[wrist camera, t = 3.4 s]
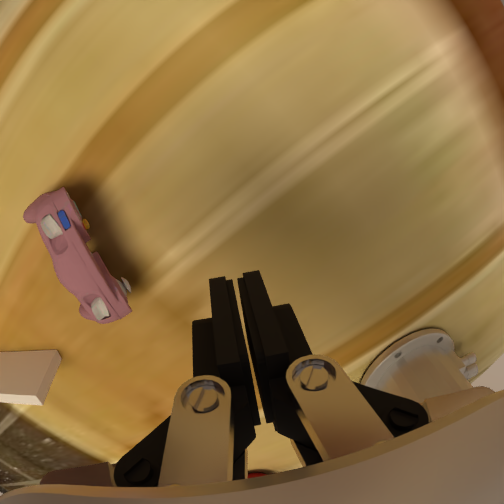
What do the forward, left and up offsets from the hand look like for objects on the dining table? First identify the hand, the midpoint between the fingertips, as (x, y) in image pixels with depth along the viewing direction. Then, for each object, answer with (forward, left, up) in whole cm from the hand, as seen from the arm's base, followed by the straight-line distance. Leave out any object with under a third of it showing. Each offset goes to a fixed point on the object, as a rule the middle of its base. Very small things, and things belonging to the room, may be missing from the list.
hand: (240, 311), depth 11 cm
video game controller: (+10, +1, -12) cm, 16 cm away
